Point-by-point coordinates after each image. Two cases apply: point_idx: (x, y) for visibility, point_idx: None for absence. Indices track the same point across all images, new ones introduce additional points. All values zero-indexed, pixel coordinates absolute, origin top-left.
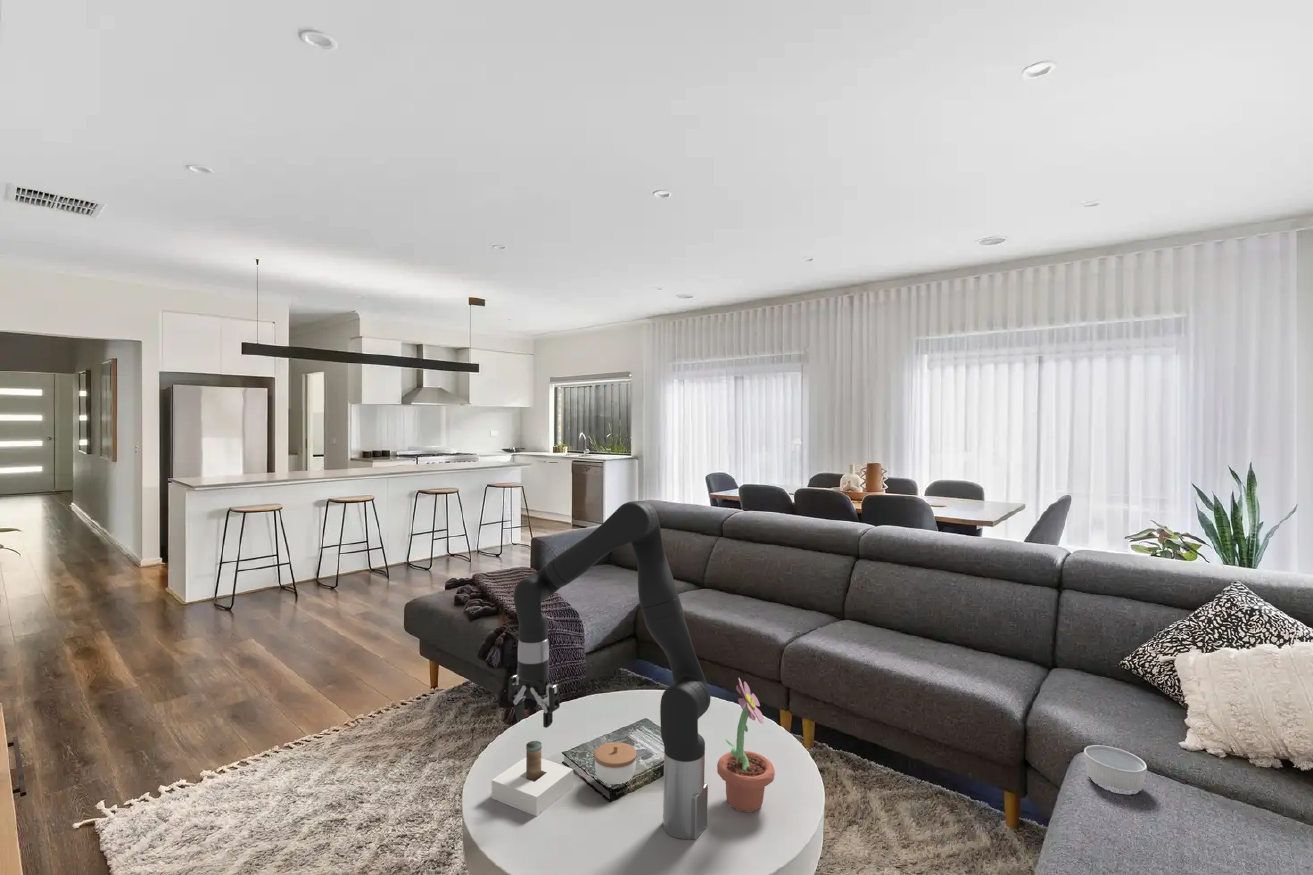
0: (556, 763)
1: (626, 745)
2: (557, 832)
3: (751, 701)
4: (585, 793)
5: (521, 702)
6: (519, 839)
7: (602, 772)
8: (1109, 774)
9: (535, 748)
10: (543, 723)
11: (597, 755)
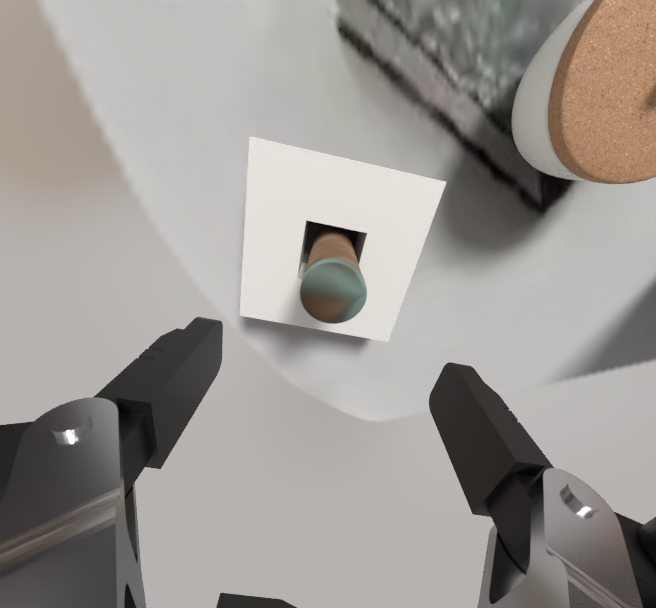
0: (375, 167)
1: None
2: (438, 345)
3: None
4: (468, 200)
5: (136, 437)
6: (376, 377)
7: (562, 177)
8: None
9: (353, 316)
10: (438, 427)
11: (577, 136)
